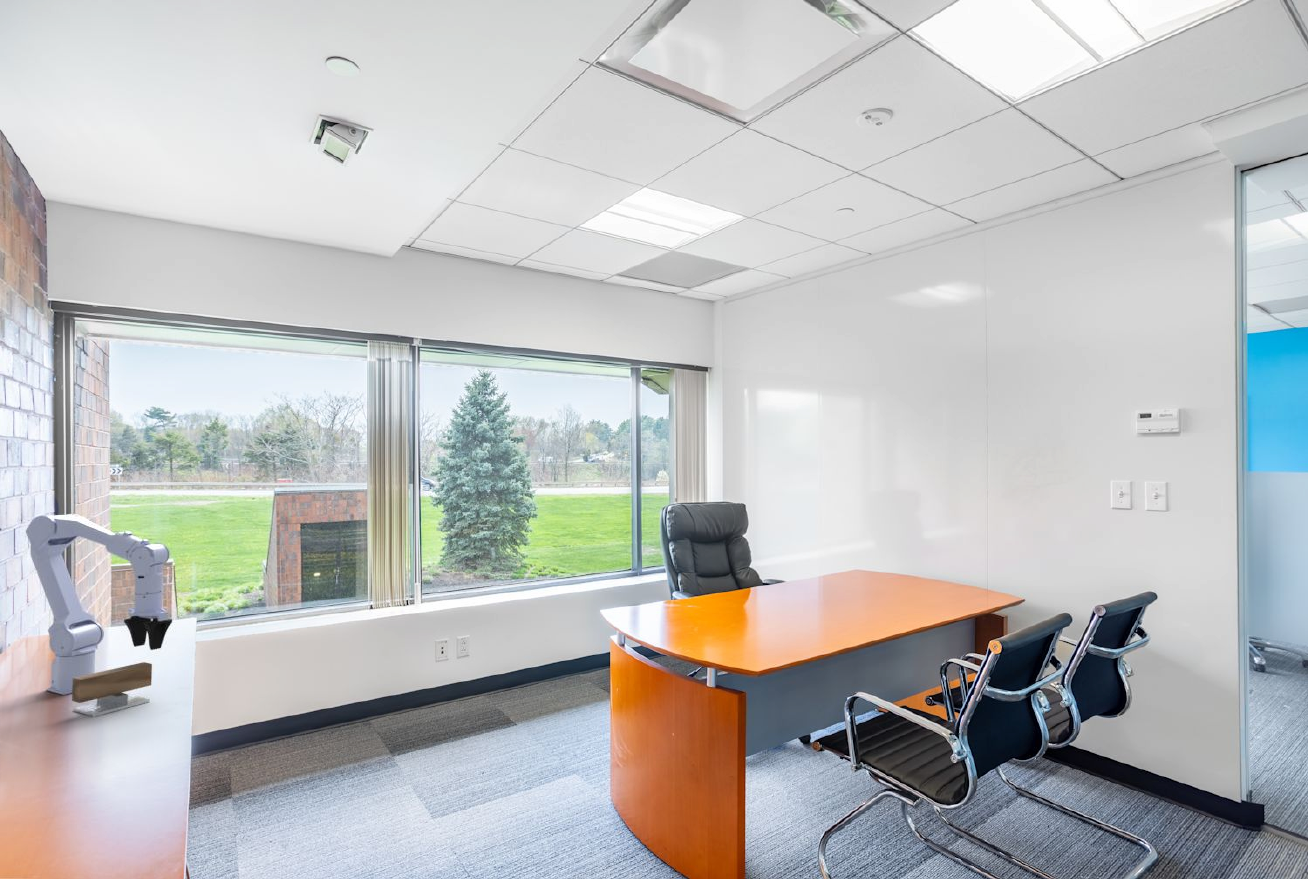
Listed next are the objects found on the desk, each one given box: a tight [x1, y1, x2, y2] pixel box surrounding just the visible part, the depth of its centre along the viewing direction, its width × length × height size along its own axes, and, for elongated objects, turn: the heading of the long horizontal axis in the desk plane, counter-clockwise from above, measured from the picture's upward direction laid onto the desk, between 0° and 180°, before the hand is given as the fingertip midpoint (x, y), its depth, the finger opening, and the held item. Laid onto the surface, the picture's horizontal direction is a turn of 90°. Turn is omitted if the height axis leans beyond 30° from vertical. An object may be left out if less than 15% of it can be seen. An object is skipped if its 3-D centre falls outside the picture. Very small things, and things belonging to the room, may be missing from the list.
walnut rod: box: [71, 661, 153, 704], centre depth 155 cm, size 4×14×5 cm, turn 153°
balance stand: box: [72, 692, 151, 718], centre depth 155 cm, size 9×11×3 cm
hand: (147, 647), depth 169 cm, fingers open, 7 cm apart
